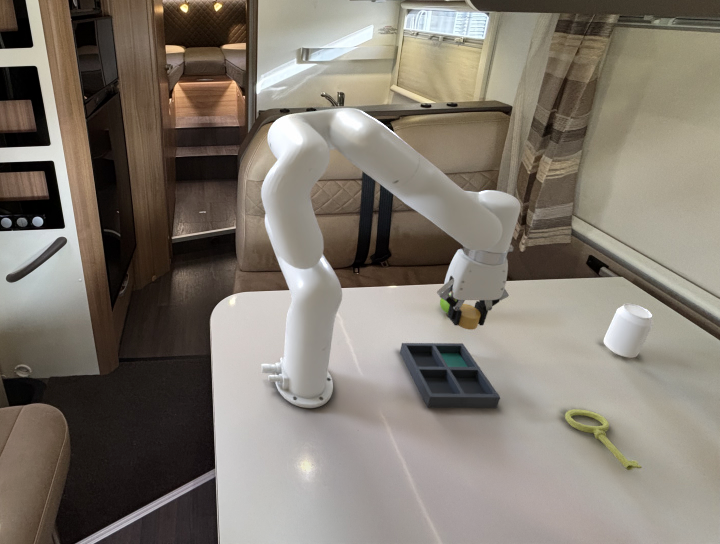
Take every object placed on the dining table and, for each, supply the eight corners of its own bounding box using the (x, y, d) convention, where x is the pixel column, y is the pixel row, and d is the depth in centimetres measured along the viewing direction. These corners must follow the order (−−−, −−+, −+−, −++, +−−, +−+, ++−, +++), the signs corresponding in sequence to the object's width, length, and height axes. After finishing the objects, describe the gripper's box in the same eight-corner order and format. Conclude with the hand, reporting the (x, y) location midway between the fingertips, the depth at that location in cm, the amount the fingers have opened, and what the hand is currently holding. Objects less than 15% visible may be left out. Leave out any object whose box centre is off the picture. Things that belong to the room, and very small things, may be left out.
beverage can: (642, 355, 101) (662, 315, 96) (627, 363, 99) (646, 323, 94) (611, 336, 106) (629, 298, 102) (596, 344, 104) (613, 305, 100)
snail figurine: (461, 307, 116) (471, 271, 112) (460, 322, 111) (470, 285, 107) (439, 300, 119) (448, 265, 114) (437, 314, 114) (446, 277, 109)
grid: (427, 407, 89) (430, 396, 88) (399, 352, 102) (401, 342, 101) (496, 408, 89) (500, 397, 87) (459, 353, 102) (462, 343, 101)
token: (460, 329, 90) (463, 318, 89) (449, 314, 95) (452, 303, 94) (482, 329, 90) (485, 318, 89) (470, 314, 95) (473, 303, 93)
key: (628, 477, 76) (632, 469, 75) (558, 415, 87) (561, 408, 86) (656, 466, 78) (660, 458, 77) (584, 406, 89) (588, 399, 88)
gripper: (514, 239, 89) (494, 308, 96) (433, 240, 89) (418, 308, 96) (540, 261, 82) (515, 333, 89) (451, 261, 82) (434, 333, 89)
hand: (465, 320), depth 92 cm, fingers closed on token, 4 cm apart
